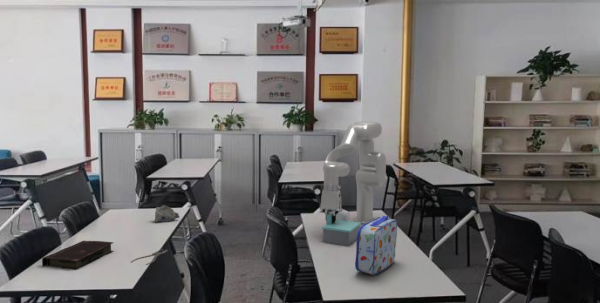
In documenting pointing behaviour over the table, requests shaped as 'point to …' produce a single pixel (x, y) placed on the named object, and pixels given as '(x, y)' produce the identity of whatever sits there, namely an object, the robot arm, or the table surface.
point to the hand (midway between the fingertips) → (330, 221)
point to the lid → (340, 224)
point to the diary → (78, 255)
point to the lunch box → (376, 245)
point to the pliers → (153, 255)
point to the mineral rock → (165, 214)
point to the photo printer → (343, 215)
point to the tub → (340, 237)
